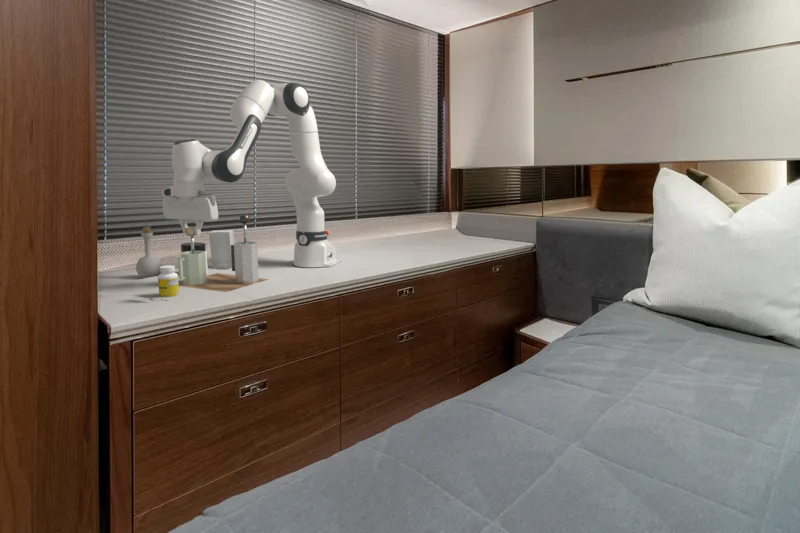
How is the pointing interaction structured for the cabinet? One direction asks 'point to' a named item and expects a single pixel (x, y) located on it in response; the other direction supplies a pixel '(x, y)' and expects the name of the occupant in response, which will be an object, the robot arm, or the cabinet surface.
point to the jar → (197, 246)
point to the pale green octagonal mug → (192, 268)
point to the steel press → (245, 262)
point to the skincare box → (221, 248)
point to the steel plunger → (244, 225)
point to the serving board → (220, 283)
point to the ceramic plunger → (190, 233)
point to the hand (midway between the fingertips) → (192, 234)
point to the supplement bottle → (168, 282)
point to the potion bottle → (148, 258)
